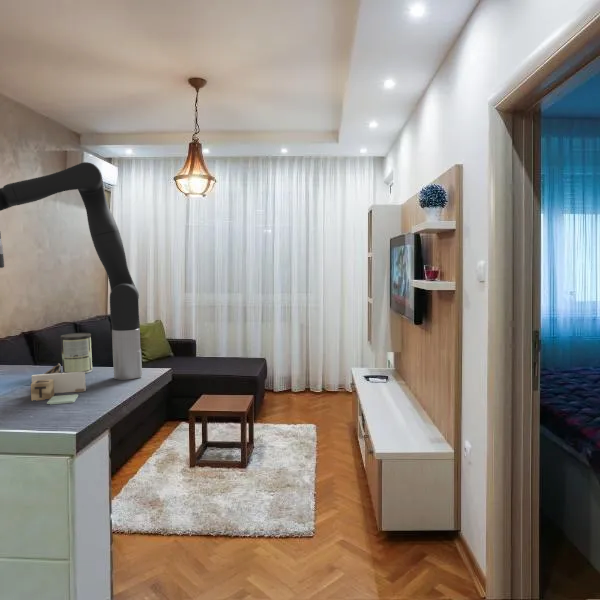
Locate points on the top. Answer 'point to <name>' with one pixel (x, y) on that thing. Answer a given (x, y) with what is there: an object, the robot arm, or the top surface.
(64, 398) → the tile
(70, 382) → the screen
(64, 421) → the top surface
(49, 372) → the rock
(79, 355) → the coffee can
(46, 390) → the letter cube
